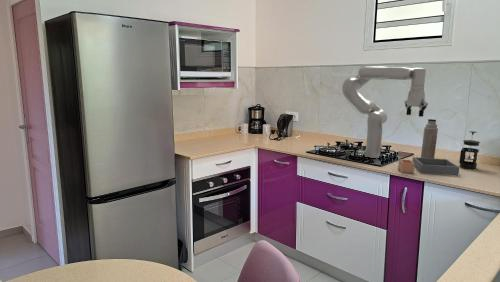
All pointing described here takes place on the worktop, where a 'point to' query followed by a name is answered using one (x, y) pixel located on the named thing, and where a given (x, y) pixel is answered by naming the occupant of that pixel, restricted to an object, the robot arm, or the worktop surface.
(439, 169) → the charcoal crate
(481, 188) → the worktop surface
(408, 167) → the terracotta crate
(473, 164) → the french press
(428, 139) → the thermos bottle
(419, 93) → the robot arm
